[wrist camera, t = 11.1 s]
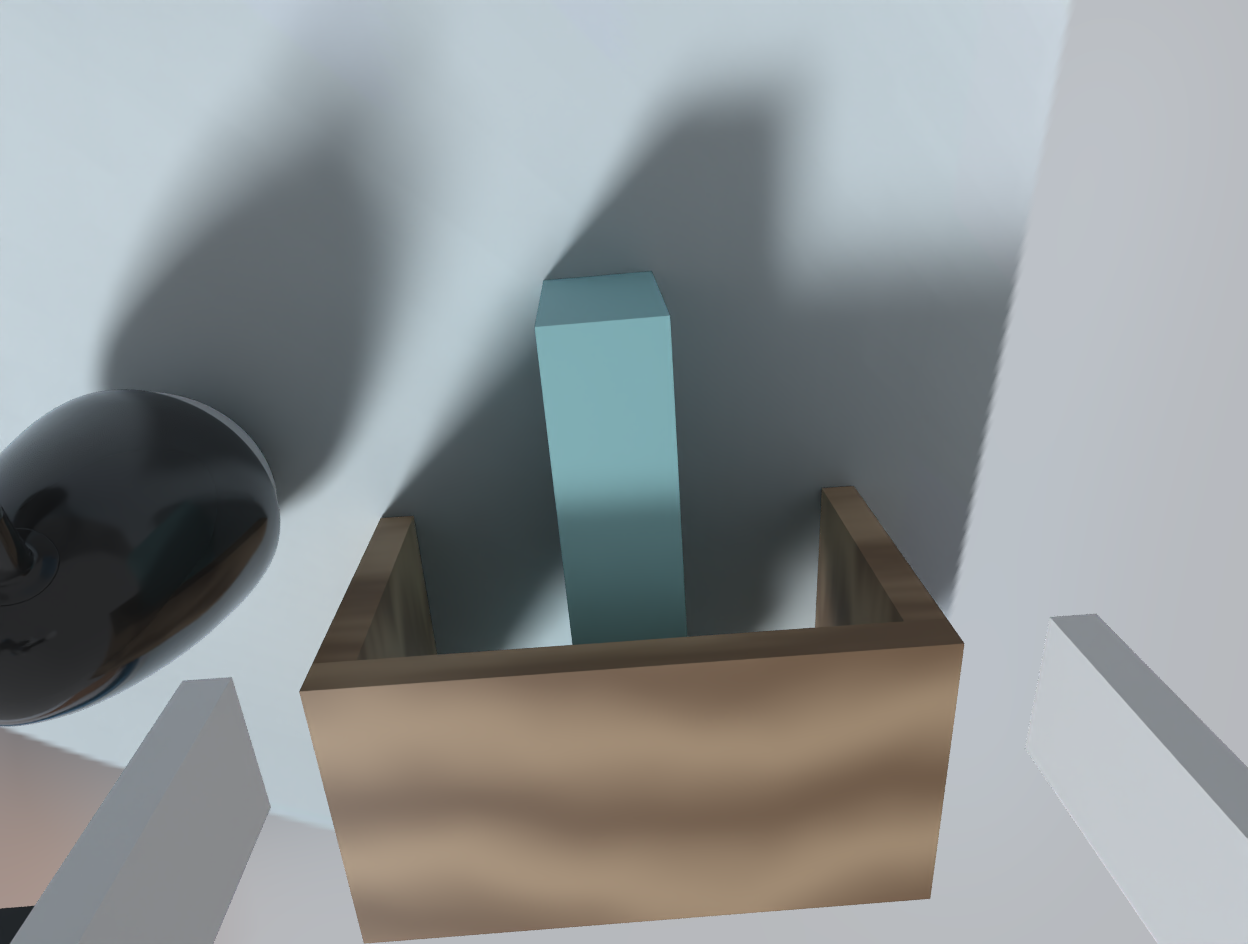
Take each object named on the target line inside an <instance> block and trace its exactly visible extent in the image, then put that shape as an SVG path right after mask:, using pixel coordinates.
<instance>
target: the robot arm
mask: <svg viewBox="0 0 1248 944" xmlns="http://www.w3.org/2000/svg"><path fill="white" fill-rule="evenodd" d="M1025 749H1026V751H1027V752H1028V754H1029V755H1030V757H1031V758H1032V760H1033V761H1034V763H1035V764H1036V766H1037V767H1038V768H1039V770H1040V772H1041V773H1042V774H1043V776H1044V777H1045V779H1046V780H1047V782H1048V783H1049V785H1050V786H1051V788H1052V789H1053V791H1054V792H1055V794H1056V795H1057V797H1058V798H1059V800H1060V801H1061V803H1062V804H1063V805H1064V807H1065V808H1066V810H1067V811H1068V813H1069V814H1070V816H1071V817H1072V819H1073V820H1074V822H1075V823H1076V824H1077V826H1078V828H1079V829H1080V831H1081V832H1082V833H1083V835H1084V836H1085V838H1086V839H1087V841H1088V842H1089V844H1090V845H1091V847H1092V848H1093V850H1094V851H1095V853H1096V854H1097V855H1098V857H1099V859H1100V860H1101V861H1102V863H1103V864H1104V866H1105V867H1106V869H1107V870H1108V872H1109V873H1110V875H1111V876H1112V878H1113V879H1114V881H1115V882H1116V884H1117V885H1118V886H1119V888H1120V890H1121V891H1122V892H1123V894H1124V895H1125V897H1126V898H1127V900H1128V901H1129V903H1130V904H1131V906H1132V907H1133V909H1134V910H1135V912H1136V913H1137V915H1138V916H1139V918H1140V919H1141V921H1142V922H1143V923H1144V925H1145V926H1146V928H1147V929H1148V931H1149V932H1150V934H1151V935H1152V937H1153V938H1154V940H1155V941H1156V943H1157V944H1248V767H1247V766H1246V765H1245V764H1244V763H1243V762H1242V761H1241V760H1240V759H1239V758H1238V757H1237V756H1236V755H1235V754H1234V753H1233V752H1232V751H1231V750H1230V749H1229V748H1228V747H1227V746H1226V745H1225V744H1224V743H1223V742H1222V741H1221V740H1220V739H1219V738H1218V737H1217V736H1216V735H1215V734H1214V733H1213V732H1212V731H1211V730H1210V729H1209V728H1208V727H1207V726H1206V725H1205V724H1204V723H1203V722H1202V721H1201V720H1200V719H1199V718H1198V717H1197V715H1195V713H1194V712H1193V711H1192V710H1190V709H1189V707H1188V706H1187V705H1186V704H1184V702H1183V701H1182V700H1181V699H1180V698H1179V697H1178V696H1177V695H1176V694H1175V693H1174V692H1173V691H1172V690H1171V689H1170V688H1169V687H1168V686H1167V685H1166V684H1165V683H1164V682H1163V681H1162V680H1161V679H1160V678H1159V677H1158V676H1157V675H1156V674H1155V673H1154V672H1153V671H1152V670H1151V669H1150V668H1149V667H1148V666H1147V665H1146V664H1145V663H1144V662H1143V661H1142V660H1141V659H1140V658H1139V657H1138V656H1137V655H1136V654H1135V653H1134V652H1133V651H1132V650H1131V649H1130V648H1129V646H1128V645H1127V644H1126V643H1125V642H1124V641H1123V640H1122V639H1121V638H1120V637H1119V636H1118V635H1117V634H1116V633H1115V632H1114V631H1113V630H1112V629H1111V628H1110V627H1109V626H1108V625H1107V624H1106V623H1105V622H1104V621H1103V620H1102V619H1101V618H1100V617H1099V616H1098V615H1097V614H1086V615H1072V616H1059V617H1050V619H1049V624H1048V629H1047V635H1046V640H1045V646H1044V650H1043V656H1042V661H1041V666H1040V671H1039V677H1038V682H1037V687H1036V693H1035V698H1034V703H1033V708H1032V714H1031V720H1030V724H1029V730H1028V735H1027V740H1026V745H1025ZM270 808H271V806H270V803H269V800H268V796H267V793H266V790H265V786H264V783H263V780H262V776H261V773H260V770H259V766H258V763H257V760H256V756H255V753H254V750H253V746H252V743H251V740H250V736H249V733H248V730H247V726H246V723H245V720H244V716H243V713H242V710H241V706H240V703H239V700H238V696H237V693H236V690H235V686H234V683H233V680H232V677H228V678H215V679H201V680H187V681H182V683H181V684H180V686H179V687H178V689H177V690H176V692H175V693H174V695H173V696H172V698H171V699H170V701H169V702H168V704H167V705H166V707H165V708H164V710H163V712H162V713H161V715H160V716H159V718H158V719H157V721H156V722H155V724H154V725H153V727H152V728H151V730H150V731H149V733H148V734H147V736H146V737H145V739H144V740H143V742H142V743H141V745H140V747H139V748H138V750H137V751H136V753H135V754H134V756H133V757H132V759H131V760H130V762H129V763H128V765H127V766H126V768H125V769H124V771H123V772H122V774H121V775H120V777H119V778H118V780H117V782H116V783H115V785H114V786H113V788H112V789H111V791H110V792H109V794H108V795H107V797H106V798H105V800H104V801H103V803H102V804H101V806H100V807H99V809H98V810H97V812H96V813H95V815H94V816H93V818H92V820H91V821H90V823H89V824H88V826H87V827H86V829H85V830H84V832H83V833H82V835H81V836H80V838H79V839H78V841H77V843H76V844H75V846H74V847H73V848H72V850H71V851H70V853H69V855H68V856H67V858H66V859H65V861H64V862H63V864H62V865H61V867H60V868H59V870H58V872H57V873H56V874H55V876H54V877H53V879H52V881H51V882H50V883H49V885H48V887H47V888H46V890H45V891H44V893H43V894H42V896H41V897H40V899H39V900H38V902H37V903H36V905H35V906H27V907H15V908H2V909H0V944H213V943H214V941H215V938H216V936H217V934H218V931H219V929H220V926H221V924H222V922H223V919H224V917H225V915H226V912H227V910H228V908H229V905H230V903H231V900H232V898H233V895H234V893H235V891H236V889H237V886H238V884H239V881H240V879H241V877H242V874H243V872H244V869H245V867H246V865H247V862H248V860H249V857H250V855H251V852H252V850H253V848H254V846H255V843H256V841H257V839H258V836H259V834H260V831H261V829H262V827H263V824H264V822H265V820H266V817H267V815H268V812H269V810H270Z"/></svg>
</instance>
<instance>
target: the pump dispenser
mask: <svg viewBox="0 0 1248 944" xmlns="http://www.w3.org/2000/svg"><path fill="white" fill-rule="evenodd" d="M279 534H280V512H279V505H278V501H277V492H276V487H275V482H274V479H273V476H272V473H271V470H270V468H269V466H268V463H267V461H266V459H265V458H264V456H263V454H262V452H261V451H260V449H259V448H258V446H257V445H256V444H255V442H254V441H253V440H252V439H251V438H250V436H249V435H248V434H247V433H246V432H245V431H244V430H243V429H242V428H241V427H239V426H238V425H237V424H236V423H235V422H234V421H232V420H231V419H229V418H228V417H227V416H225V415H224V414H222V413H220V412H219V411H217V410H215V409H213V408H211V407H209V406H207V405H205V404H203V403H200V402H198V401H196V400H192V399H189V398H186V397H183V396H178V395H174V394H168V393H161V392H149V391H142V390H128V389H119V390H106V391H100V392H95V393H90V394H86V395H83V396H80V397H77V398H75V399H72V400H70V401H68V402H66V403H64V404H62V405H60V406H58V407H56V408H55V409H53V410H51V411H50V412H48V413H47V414H45V415H44V416H42V417H41V418H39V419H38V420H37V421H35V422H34V423H33V424H31V425H30V426H29V427H28V428H27V429H25V430H24V431H23V432H22V433H21V434H20V435H19V436H18V437H16V438H15V439H14V440H13V441H12V442H11V443H10V444H9V445H8V446H7V447H6V448H5V449H4V450H3V451H2V452H1V453H0V727H10V726H22V725H29V724H35V723H40V722H44V721H48V720H52V719H56V718H60V717H63V716H66V715H69V714H73V713H75V712H78V711H81V710H84V709H86V708H89V707H91V706H93V705H96V704H98V703H100V702H102V701H104V700H107V699H109V698H111V697H113V696H115V695H117V694H119V693H121V692H123V691H125V690H126V689H128V688H130V687H132V686H134V685H135V684H137V683H139V682H140V681H142V680H144V679H146V678H147V677H149V676H151V675H152V674H154V673H155V672H157V671H158V670H160V669H162V668H163V667H165V666H166V665H168V664H169V663H171V662H172V661H174V660H175V659H176V658H178V657H179V656H181V655H182V654H183V653H185V652H186V651H188V650H189V649H190V648H192V647H193V646H194V645H195V644H197V643H198V642H199V641H200V640H202V639H203V638H204V637H205V636H206V635H208V634H209V633H210V632H211V631H212V630H213V629H214V628H216V627H217V626H218V625H219V624H220V623H221V622H222V621H223V620H224V619H225V618H226V617H227V616H229V615H230V614H231V613H232V612H233V611H234V610H235V609H236V608H237V607H238V606H239V605H240V604H241V603H242V602H243V601H244V600H245V599H246V597H247V596H248V595H249V594H250V593H251V592H252V590H253V589H254V588H255V587H256V585H257V584H258V583H259V581H260V580H261V578H262V577H263V575H264V574H265V572H266V571H267V569H268V567H269V566H270V564H271V562H272V559H273V557H274V555H275V552H276V549H277V545H278V541H279Z"/></svg>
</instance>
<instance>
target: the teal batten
mask: <svg viewBox="0 0 1248 944" xmlns="http://www.w3.org/2000/svg"><path fill="white" fill-rule="evenodd" d="M535 335H536V343H537V352H538V360H539V368H540V377H541V385H542V394H543V402H544V410H545V419H546V427H547V435H548V444H549V452H550V460H551V469H552V477H553V486H554V494H555V502H556V511H557V519H558V527H559V536H560V544H561V552H562V561H563V569H564V578H565V586H566V594H567V603H568V611H569V619H570V628H571V636H572V644H573V645H580V644H594V643H608V642H622V641H636V640H650V639H664V638H678V637H687V625H686V607H685V588H684V569H683V550H682V531H681V512H680V493H679V475H678V456H677V437H676V418H675V399H674V380H673V362H672V343H671V324H670V314H669V312H668V309H667V307H666V305H665V302H664V300H663V297H662V295H661V293H660V290H659V288H658V285H657V283H656V281H655V278H654V276H653V273H652V271H648V272H636V273H624V274H612V275H601V276H589V277H577V278H565V279H553V280H543V285H542V291H541V296H540V301H539V306H538V312H537V317H536V322H535Z"/></svg>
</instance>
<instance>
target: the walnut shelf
mask: <svg viewBox="0 0 1248 944" xmlns="http://www.w3.org/2000/svg"><path fill="white" fill-rule="evenodd" d="M963 649H964V642H963V641H962V639H961V638H960V637H959V635H958V634H957V632H956V631H955V630H954V628H953V627H952V625H951V624H950V622H949V621H948V620H947V618H946V617H945V615H944V614H943V612H942V611H941V610H940V608H939V607H938V605H937V604H936V602H935V601H934V600H933V598H932V597H931V595H930V594H929V593H928V591H927V590H926V588H925V587H924V585H923V584H922V583H921V581H920V580H919V578H918V577H917V575H916V574H915V573H914V571H913V570H912V568H911V567H910V565H909V564H908V563H907V561H906V560H905V558H904V557H903V555H902V554H901V553H900V551H899V550H898V548H897V547H896V546H895V544H894V543H893V541H892V540H891V538H890V537H889V536H888V534H887V533H886V531H885V530H884V528H883V527H882V526H881V524H880V523H879V521H878V520H877V518H876V517H875V516H874V514H873V513H872V511H871V510H870V509H869V507H868V506H867V504H866V503H865V501H864V500H863V499H862V497H861V496H860V494H859V493H858V491H857V490H856V489H855V487H854V486H846V487H831V488H822V495H821V516H820V537H819V558H818V579H817V600H816V621H815V628H803V629H789V630H775V631H762V632H748V633H734V634H720V635H706V636H692V637H678V638H664V639H650V640H636V641H622V642H608V643H594V644H580V645H566V646H552V647H538V648H524V649H510V650H496V651H482V652H468V653H454V654H440V655H437V650H436V645H435V639H434V633H433V627H432V621H431V615H430V610H429V604H428V598H427V592H426V586H425V580H424V575H423V569H422V563H421V557H420V551H419V545H418V539H417V534H416V528H415V522H414V516H403V517H388V518H381V519H380V521H379V523H378V525H377V527H376V529H375V531H374V534H373V536H372V538H371V540H370V542H369V544H368V546H367V549H366V551H365V553H364V555H363V557H362V559H361V561H360V563H359V566H358V568H357V570H356V572H355V574H354V576H353V578H352V580H351V583H350V585H349V587H348V589H347V591H346V593H345V595H344V598H343V600H342V602H341V604H340V606H339V608H338V610H337V612H336V615H335V617H334V619H333V621H332V623H331V625H330V627H329V629H328V632H327V634H326V636H325V638H324V640H323V642H322V644H321V647H320V649H319V651H318V653H317V655H316V657H315V659H314V661H313V664H312V666H311V668H310V670H309V672H308V674H307V676H306V678H305V681H304V683H303V685H302V687H301V689H300V691H299V692H300V696H301V700H302V704H303V708H304V712H305V716H306V720H307V723H308V727H309V731H310V735H311V739H312V743H313V747H314V751H315V755H316V758H317V762H318V766H319V770H320V774H321V778H322V782H323V786H324V790H325V794H326V797H327V801H328V805H329V809H330V813H331V817H332V821H333V825H334V829H335V833H336V836H337V840H338V844H339V848H340V852H341V856H342V860H343V864H344V867H345V871H346V875H347V879H348V883H349V887H350V891H351V895H352V899H353V903H354V906H355V910H356V914H357V918H358V922H359V926H360V930H361V933H362V938H363V941H364V943H375V942H389V941H401V940H414V939H427V938H439V937H452V936H465V935H478V934H489V933H502V932H514V931H528V930H540V929H552V928H553V929H554V928H565V927H578V926H591V925H604V924H617V923H629V922H642V921H654V920H667V919H680V918H691V917H705V916H717V915H731V914H743V913H756V912H768V911H781V910H794V909H806V908H819V907H832V906H844V905H857V904H870V903H882V902H895V901H907V900H920V899H930V895H931V888H932V880H933V874H934V865H935V858H936V851H937V844H938V837H939V829H940V821H941V814H942V806H943V799H944V792H945V784H946V777H947V769H948V762H949V754H950V747H951V740H952V732H953V724H954V717H955V710H956V702H957V695H958V687H959V680H960V672H961V665H962V658H963Z"/></svg>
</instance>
